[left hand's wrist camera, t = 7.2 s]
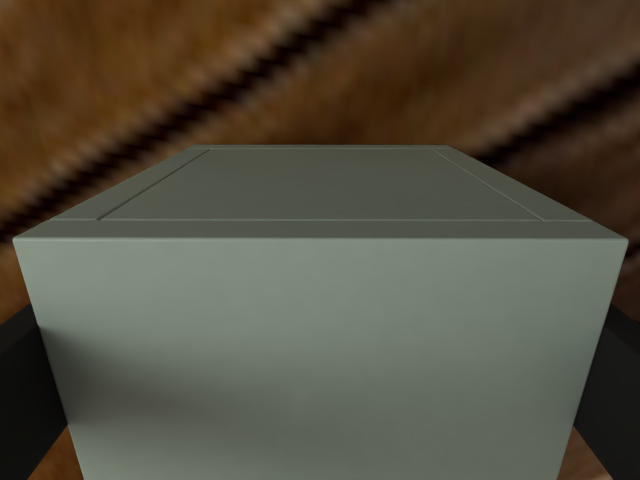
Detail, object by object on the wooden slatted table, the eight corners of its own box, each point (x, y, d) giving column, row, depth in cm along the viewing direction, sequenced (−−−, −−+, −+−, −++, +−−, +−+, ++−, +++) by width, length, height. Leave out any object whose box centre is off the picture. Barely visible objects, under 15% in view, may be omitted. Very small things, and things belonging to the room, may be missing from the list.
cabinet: (411, 461, 26) (478, 741, 15) (228, 460, 26) (161, 739, 15) (448, 144, 19) (631, 239, 8) (193, 144, 19) (9, 237, 8)
